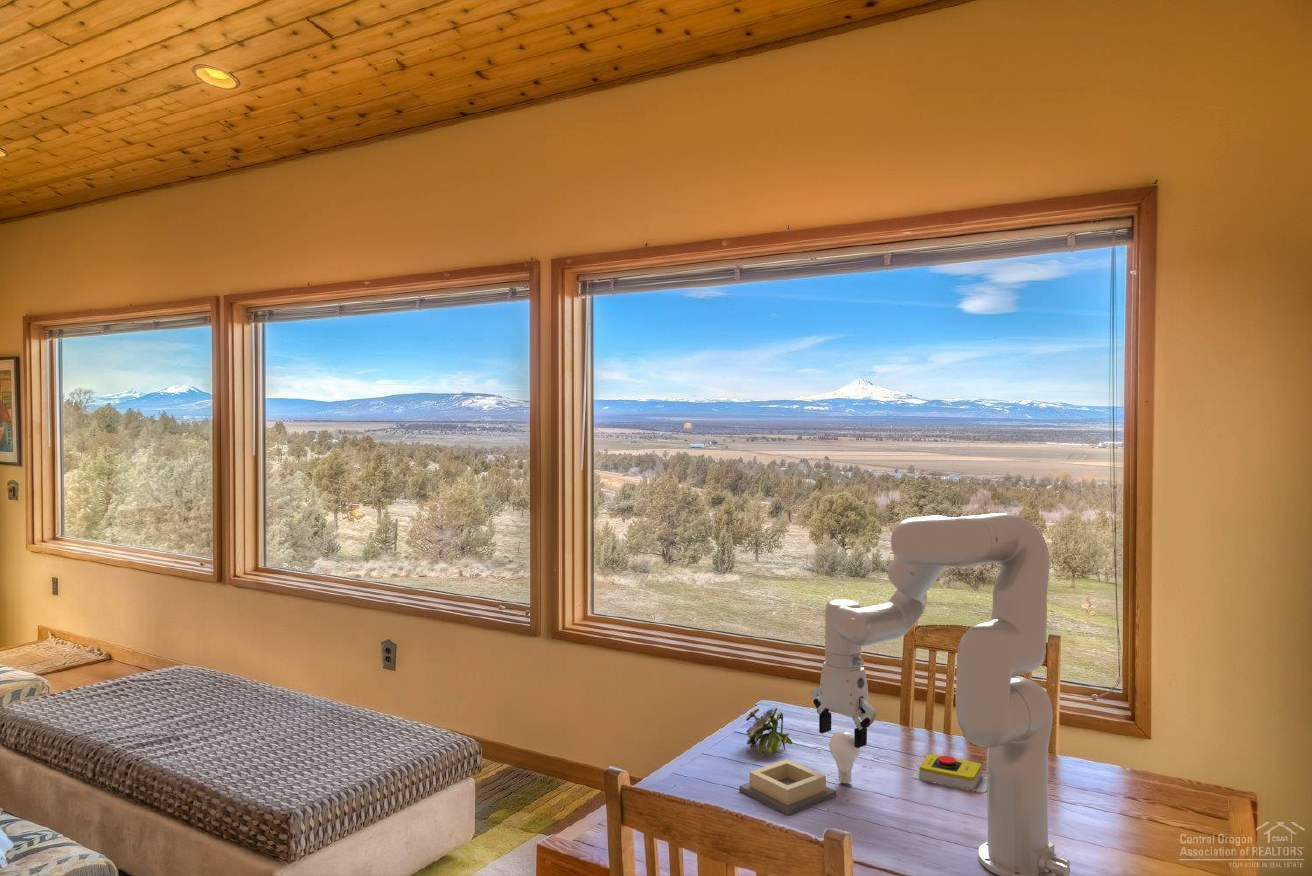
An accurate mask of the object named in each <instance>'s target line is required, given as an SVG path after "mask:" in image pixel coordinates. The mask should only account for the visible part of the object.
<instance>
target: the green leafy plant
mask: <svg viewBox="0 0 1312 876" xmlns="http://www.w3.org/2000/svg"><path fill="white" fill-rule="evenodd" d="M777 711H778V707H774V709H772V708H771V709H769V710H768V711H766V712H764V713H763V715H761V716H760V717H757V716H756V714H757V713H758V712H760V708H759V707H758V708H755V709H754V710H753V711H750V713H749V715H748V716H747V717H746V720H745V721H749V720H750V719H752V718H754V719H755V722H753V725H751V726H750V727H749V728H748V729H747V730H746V731H745V732H746V736H748V737H747V738H749V739H748V740H747V741H746V745H748V746H749V745H751V746H752V747H753V746H755V745H758V746H757V754H758V755H759V756H760V758H763V757H764V756H763V755H764V751H765V754H766V756H769V755H771V754H772V753H776V752H778V750H779V749H780V748H781V746H783V749H784V750H786V744H788V745H793V741H792V739H791V738H790V737H789V735H790V733H787V732H786V733H784V732H783V727H784V725H783V724H784V714H783V713H782V711H781V710H779V712H778V713H777ZM776 713H777V715H776ZM779 720H781V723H780V732H778V730H777V728H778V725H779V722H778V721H779ZM766 731H768V732H766ZM764 732H766V733H764ZM757 743H758V744H757Z"/></svg>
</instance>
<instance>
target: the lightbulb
mask: <svg viewBox="0 0 1312 876" xmlns="http://www.w3.org/2000/svg"><path fill="white" fill-rule="evenodd" d="M828 747H829V748H828V749H829V752H830V754H831V756H832V758H833V759H834V761H835V762H836V763H835V765H836V767H837V772H838V776H837V777H838V782H839V783H841V784H842V785H848V784H850V783H852V770H853V767H854V763H855V761H856V760H857V758H858V756H859V755H860V751H861V750H860V749H861V747H860V748H856V747H855V746H854V733H852V732H850V731H848V730H840V731H837V732H835V733H834V734H833V735H832V736H831V738H830V741H829V743H828Z"/></svg>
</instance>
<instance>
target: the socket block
mask: <svg viewBox="0 0 1312 876" xmlns="http://www.w3.org/2000/svg"><path fill="white" fill-rule="evenodd" d="M739 791H740V792H742V793H743V794H746V795H747V796H749V797H751V798H754V799H755V800H757V801H759V802H762V803H763V804H764V805H766V806H767V805H768V806H769V807H771V808H773V809H775V810H777V811H778V812H780V813H783V814H785V815H787V816H788V815H791V814H794V813H796V812H800V811H802V810H804V809H807V808H809V807H812V806H815V805H817V804H819V803H822V802H825V801H827V800H830V799H833V798H834V797H837V790H836V789H833V788H830V787H829V786H827V776H826V775H824V774H822V773H820V772H817V771H815V770H814V769H812V768H811V769H810V768H808V767H805V766H804V765H801V764H799V763H797V762H794V761H792V760H789V759H788V758H786V759H785V760H781V761H778V762H775V763H773V764H769V765H767V766H766V765H765V766H763V767H760V768H757V769H755V770H751V771H749V782H746V783H744V784H741V785H739Z"/></svg>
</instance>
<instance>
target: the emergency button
mask: <svg viewBox="0 0 1312 876" xmlns="http://www.w3.org/2000/svg"><path fill="white" fill-rule="evenodd" d="M982 775H983V771H982V764H981V763H980V762H977V761H970V760H967V759H966V760H965V759H961V758H955V757H953V756H949V755H939V754H933V753H929V754H928V755H926V757H925V758H924V760H923V761H922V762H921V763H920V765H919V767H918V768H917V769H916V770H915V772H914V774H912V776H911V777H913V778H912V779H914V780H918V781H921V782H923V781H924V782H926V781H927V782H926V783H931V782H936V783H941V784H943V785H942V786H945V785H948V786H947V787H950V786H951V788H954V789H955V788H956V789H960V790H965V789H968V790H967V791H969V790H972V791H971V792H974V791H976V792H975V793H980V794H986V793H987V791H986V790H987V777H982ZM936 783H935V784H936ZM941 784H940V785H941Z"/></svg>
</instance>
